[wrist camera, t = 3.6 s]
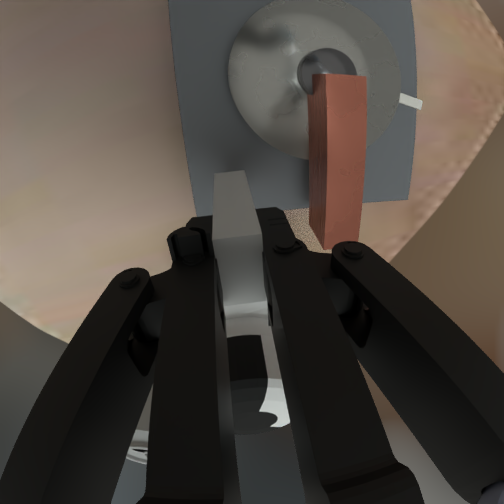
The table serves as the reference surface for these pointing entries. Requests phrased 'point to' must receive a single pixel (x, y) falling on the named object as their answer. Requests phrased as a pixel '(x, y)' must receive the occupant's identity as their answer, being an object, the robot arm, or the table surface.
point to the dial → (318, 98)
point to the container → (254, 370)
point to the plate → (241, 134)
